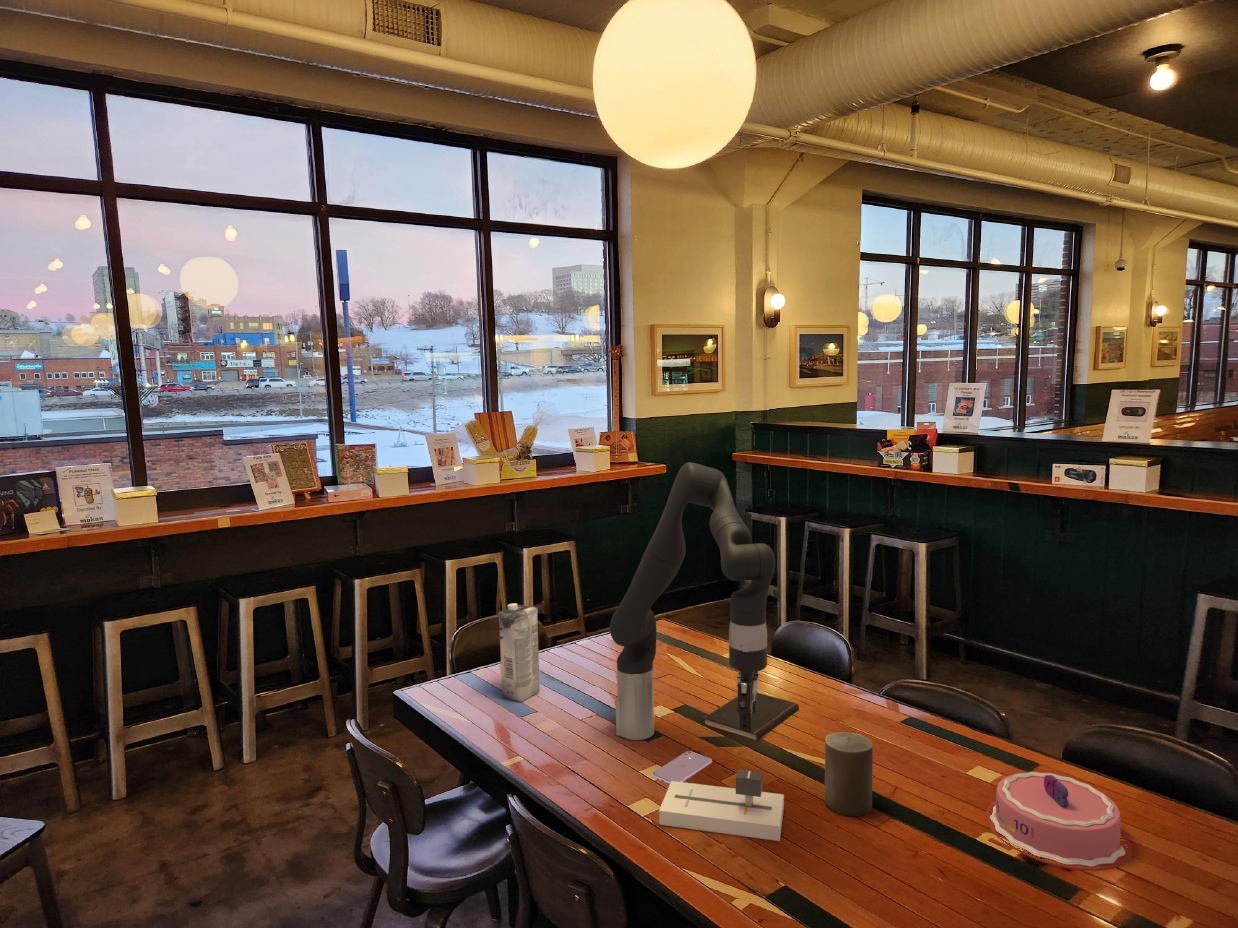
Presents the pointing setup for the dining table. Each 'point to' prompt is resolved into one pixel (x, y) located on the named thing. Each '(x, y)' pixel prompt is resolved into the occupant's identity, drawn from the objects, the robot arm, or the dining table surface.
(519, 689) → the juice carton
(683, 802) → the dimmer panel
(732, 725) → the hardcover book
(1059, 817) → the cake
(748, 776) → the fader
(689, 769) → the mobile phone
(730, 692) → the dining table surface
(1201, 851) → the dining table surface
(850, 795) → the pillar candle
